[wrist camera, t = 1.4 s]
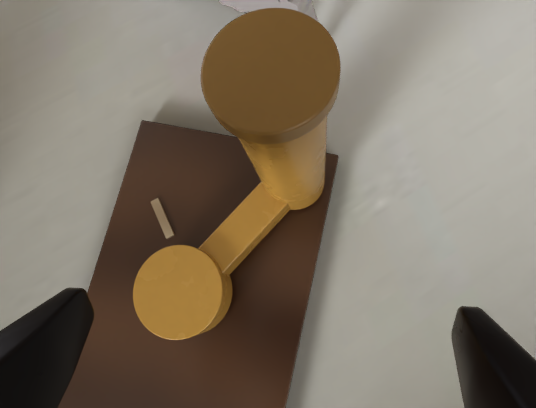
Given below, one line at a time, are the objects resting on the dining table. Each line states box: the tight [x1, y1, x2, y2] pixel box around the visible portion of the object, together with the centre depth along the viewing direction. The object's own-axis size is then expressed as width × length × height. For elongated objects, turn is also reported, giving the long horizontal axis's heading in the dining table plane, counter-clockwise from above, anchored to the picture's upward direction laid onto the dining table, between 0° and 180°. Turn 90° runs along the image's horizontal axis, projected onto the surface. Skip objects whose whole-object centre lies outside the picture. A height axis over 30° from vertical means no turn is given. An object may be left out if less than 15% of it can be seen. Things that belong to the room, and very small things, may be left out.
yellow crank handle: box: [133, 8, 340, 340], centre depth 16 cm, size 12×4×11 cm, turn 136°
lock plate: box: [58, 120, 338, 408], centre depth 22 cm, size 18×12×1 cm, turn 166°
